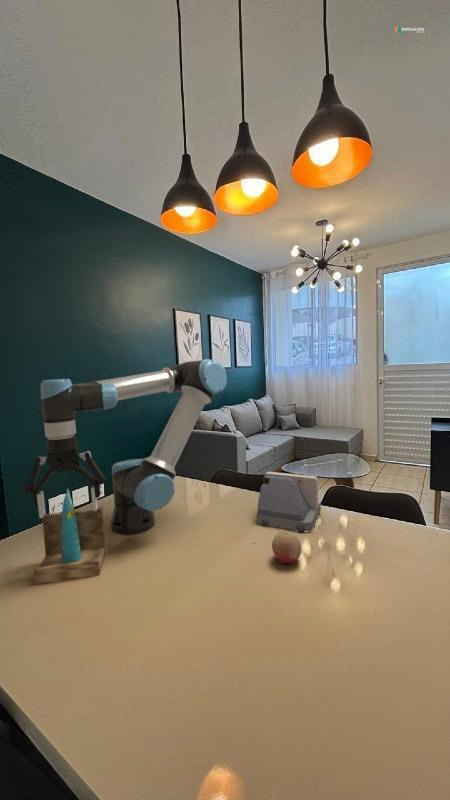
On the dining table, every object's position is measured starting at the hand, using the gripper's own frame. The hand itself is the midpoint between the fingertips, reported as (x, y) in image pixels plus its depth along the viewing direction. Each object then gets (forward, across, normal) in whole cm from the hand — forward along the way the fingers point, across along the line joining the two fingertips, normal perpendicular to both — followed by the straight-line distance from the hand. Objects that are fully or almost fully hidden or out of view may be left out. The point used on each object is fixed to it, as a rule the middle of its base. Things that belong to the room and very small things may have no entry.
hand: (69, 512), depth 94 cm
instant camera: (+18, -68, -12) cm, 72 cm away
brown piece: (+16, +1, 0) cm, 16 cm away
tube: (+14, 0, 0) cm, 14 cm away
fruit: (+17, -57, +13) cm, 61 cm away
